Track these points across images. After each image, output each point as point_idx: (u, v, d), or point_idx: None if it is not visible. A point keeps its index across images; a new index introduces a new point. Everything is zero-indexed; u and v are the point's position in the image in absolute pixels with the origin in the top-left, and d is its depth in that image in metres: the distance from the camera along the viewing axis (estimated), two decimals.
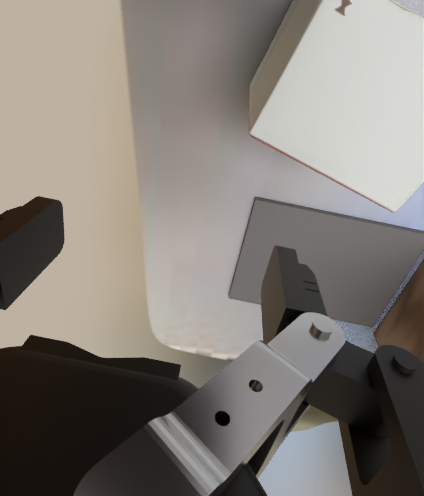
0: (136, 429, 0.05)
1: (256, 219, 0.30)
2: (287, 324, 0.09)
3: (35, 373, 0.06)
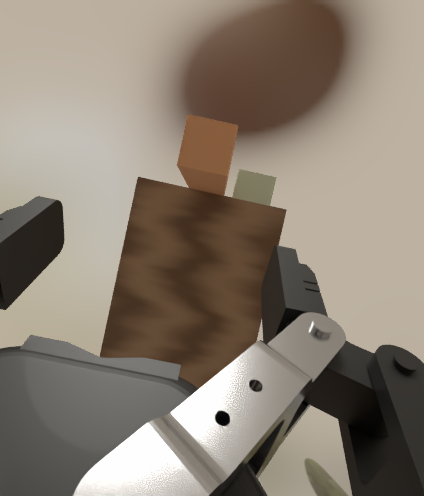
0: (136, 429, 0.05)
1: None
2: (287, 324, 0.09)
3: (35, 373, 0.06)
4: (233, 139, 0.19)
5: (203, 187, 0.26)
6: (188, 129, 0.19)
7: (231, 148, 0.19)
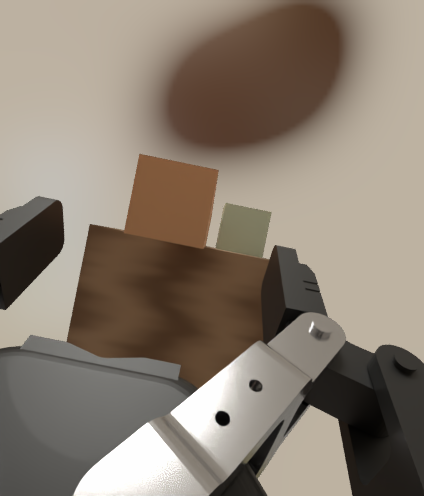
0: (136, 429, 0.05)
1: None
2: (287, 324, 0.09)
3: (35, 373, 0.06)
4: (211, 191, 0.12)
5: None
6: (140, 177, 0.12)
7: (208, 205, 0.12)
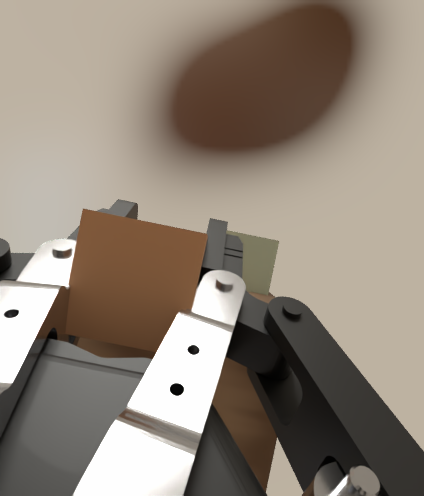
0: None
1: None
2: None
3: (35, 373, 0.06)
4: (195, 267, 0.08)
5: None
6: (85, 245, 0.08)
7: (191, 289, 0.08)
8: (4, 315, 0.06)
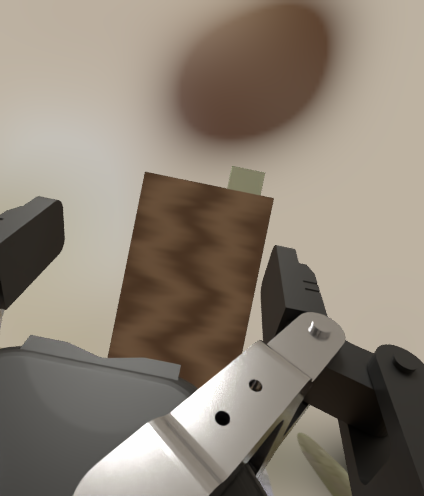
0: (136, 429, 0.05)
1: None
2: (287, 324, 0.09)
3: (35, 373, 0.06)
4: None
5: None
6: None
7: None
8: None
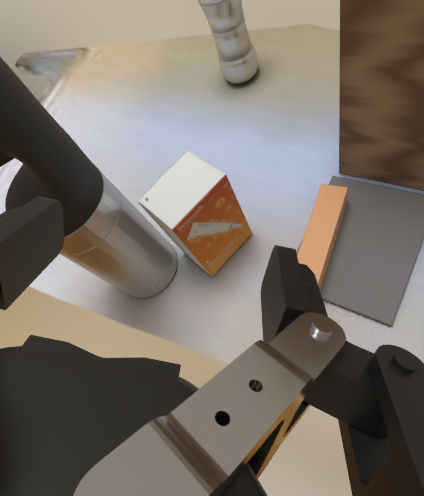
0: (136, 429, 0.05)
1: None
2: (287, 324, 0.09)
3: (35, 373, 0.06)
4: None
5: None
6: None
7: None
8: None
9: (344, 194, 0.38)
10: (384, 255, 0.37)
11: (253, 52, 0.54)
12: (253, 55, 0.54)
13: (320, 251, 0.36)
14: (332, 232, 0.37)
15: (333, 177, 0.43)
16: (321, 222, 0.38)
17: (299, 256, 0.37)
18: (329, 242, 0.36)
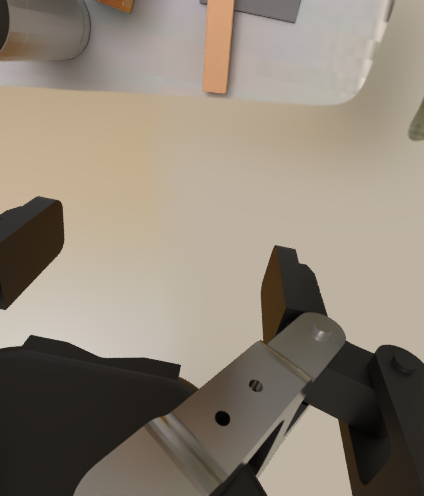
0: (136, 429, 0.05)
1: None
2: (287, 324, 0.09)
3: (35, 373, 0.06)
4: (209, 91, 0.43)
5: (231, 32, 0.41)
6: None
7: None
8: None
9: None
10: None
11: None
12: None
13: None
14: None
15: None
16: None
17: None
18: None
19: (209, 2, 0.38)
